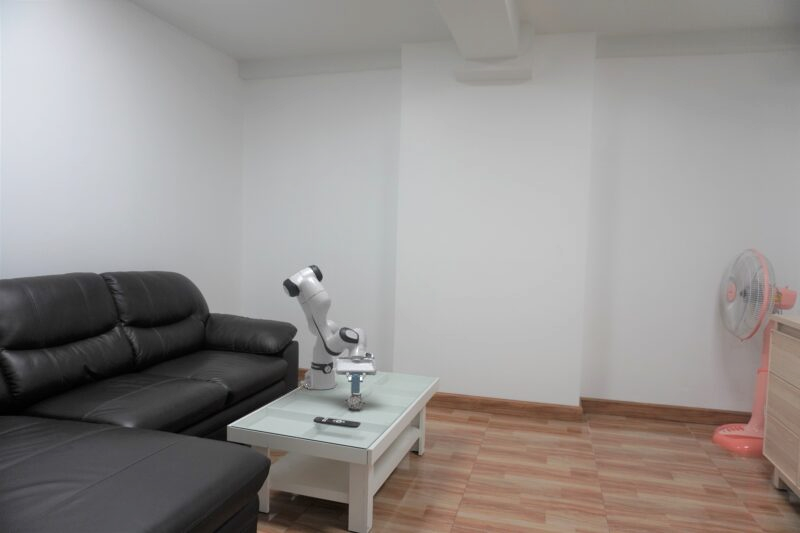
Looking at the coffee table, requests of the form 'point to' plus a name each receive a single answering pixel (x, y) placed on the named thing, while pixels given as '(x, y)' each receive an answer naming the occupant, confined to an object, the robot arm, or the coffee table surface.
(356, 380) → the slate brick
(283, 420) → the coffee table surface
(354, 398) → the twenty-sided die
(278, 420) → the coffee table surface
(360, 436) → the coffee table surface
